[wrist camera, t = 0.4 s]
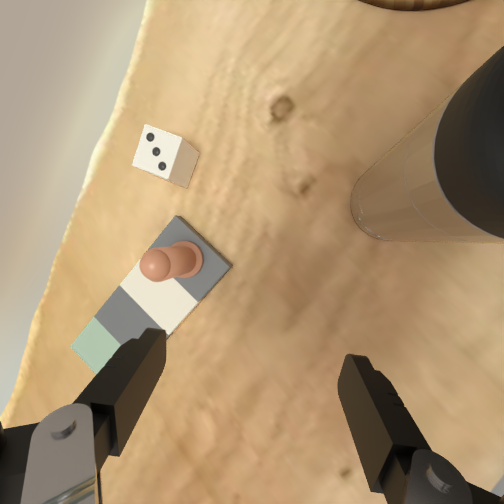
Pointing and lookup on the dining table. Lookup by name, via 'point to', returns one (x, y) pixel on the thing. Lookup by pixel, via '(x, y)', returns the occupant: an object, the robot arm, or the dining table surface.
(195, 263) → the pawn
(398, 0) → the wooden plate with food
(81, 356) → the board
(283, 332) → the dining table surface
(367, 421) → the robot arm
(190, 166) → the die
